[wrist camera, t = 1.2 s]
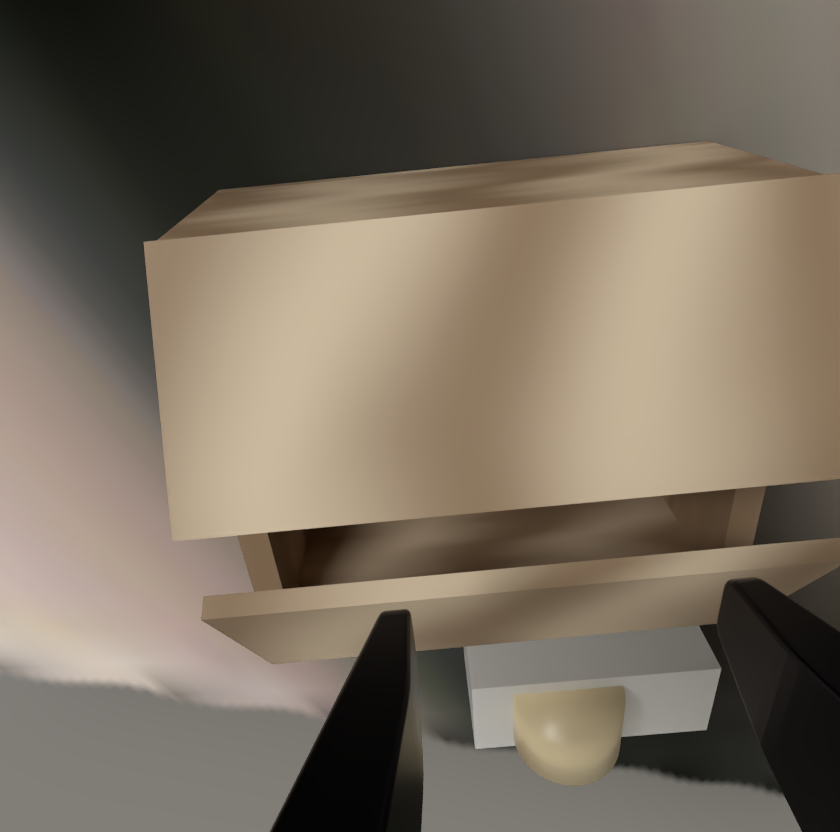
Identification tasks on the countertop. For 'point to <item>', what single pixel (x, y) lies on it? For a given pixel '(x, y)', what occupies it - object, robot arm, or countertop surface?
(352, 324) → the flap
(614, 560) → the flap
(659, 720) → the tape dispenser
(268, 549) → the cardboard box
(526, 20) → the countertop surface
